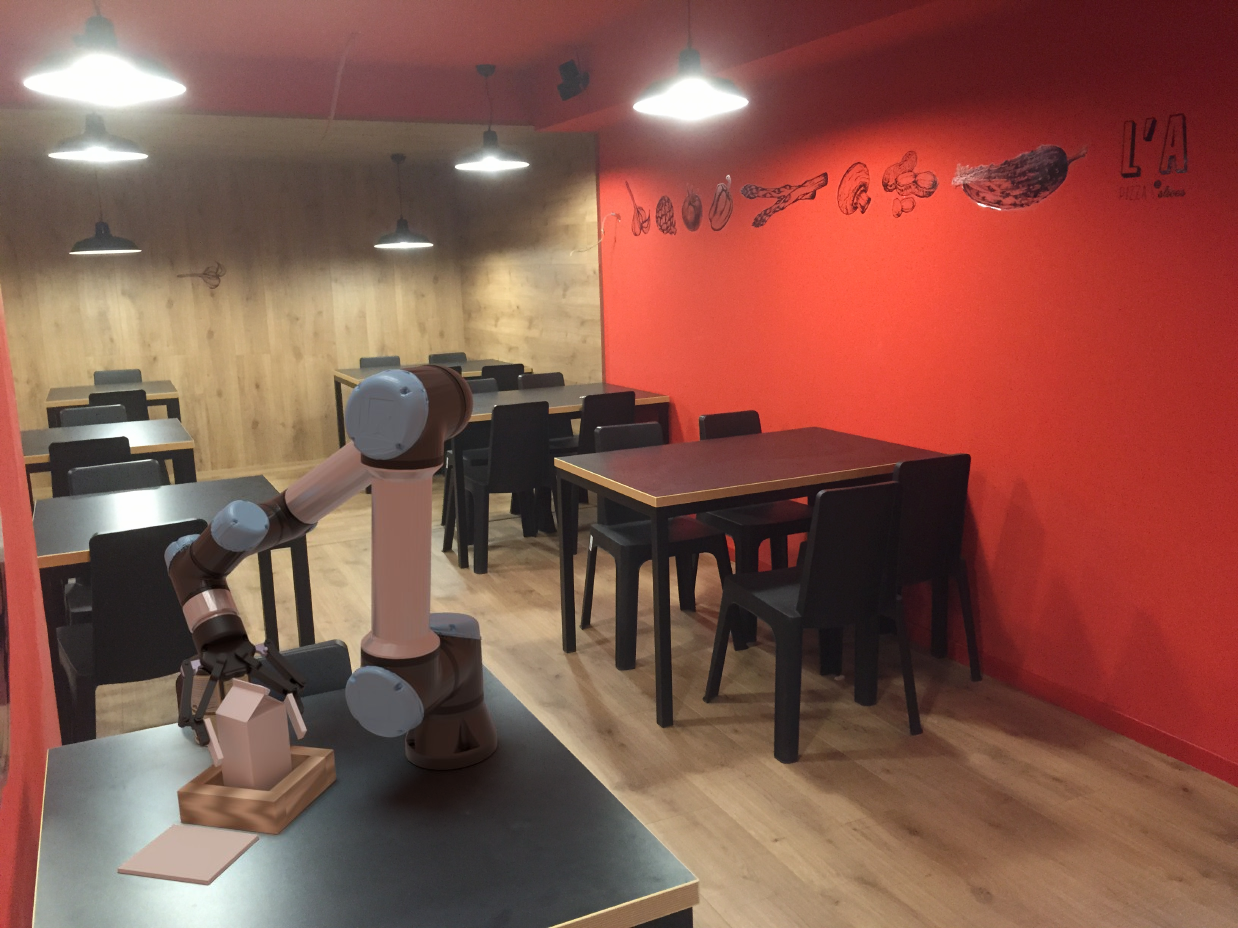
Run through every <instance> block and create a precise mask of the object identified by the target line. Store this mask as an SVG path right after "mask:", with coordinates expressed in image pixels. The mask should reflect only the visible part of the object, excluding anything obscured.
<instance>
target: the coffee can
mask: <svg viewBox="0 0 1238 928" xmlns="http://www.w3.org/2000/svg"><path fill="white" fill-rule="evenodd" d="M187 659H188V660H190V661H195V660H199V655H198V653H197V654H194V655H192V657H189V658H187ZM210 676H211V675H210V674H208V673H206V672H205V671H203V670H202V669H200V668H199V669H198V670H197V673H196V675H195V676H194V679H193V687H192V696H191V704H190V708H191V714H193V715H195V713H196V711H197V708H198V706H199V703H200V701H201V698H202V696H203V693H204V691H205V688H206V686H207V683H208V681H209V678H210ZM232 679H238V680H241V681H245V682H248V683H252V678H251V677H250V676H248V675H247V674H245V675H244V676H243V677H240V678H232ZM232 679H230V680H229V681H225V682H223V681H221V680H218V682H217V684H216V687H215V689H214V692H213V694H212V697H211V699H210V702H209V704H208V707H207V710H206V712H205V715H204V717H203V720H204V719H207V718H210V721H211V723H212V726H213V729H214V732H215V735H216V737H217V740H218V743H219V739H218V730H217V721H216V713H215V712H216V711H217V709H218V708H219V706H220V705H221V703H222V702H223V700H224V699H225V697H226V695H227V694H228V692H229V691H230V689H231V688H232V686H233V680H232ZM252 684H253V683H252ZM193 731H194V736H195V737H194V740H195V743H196V744H199V741H198V738H197V735H196V733H195V730H193ZM199 745H200V744H199ZM200 746H201V745H200ZM204 747H208V745H205V746H204Z"/></svg>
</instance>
